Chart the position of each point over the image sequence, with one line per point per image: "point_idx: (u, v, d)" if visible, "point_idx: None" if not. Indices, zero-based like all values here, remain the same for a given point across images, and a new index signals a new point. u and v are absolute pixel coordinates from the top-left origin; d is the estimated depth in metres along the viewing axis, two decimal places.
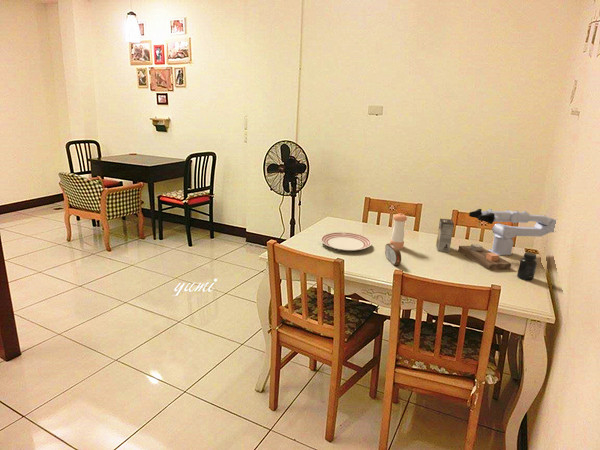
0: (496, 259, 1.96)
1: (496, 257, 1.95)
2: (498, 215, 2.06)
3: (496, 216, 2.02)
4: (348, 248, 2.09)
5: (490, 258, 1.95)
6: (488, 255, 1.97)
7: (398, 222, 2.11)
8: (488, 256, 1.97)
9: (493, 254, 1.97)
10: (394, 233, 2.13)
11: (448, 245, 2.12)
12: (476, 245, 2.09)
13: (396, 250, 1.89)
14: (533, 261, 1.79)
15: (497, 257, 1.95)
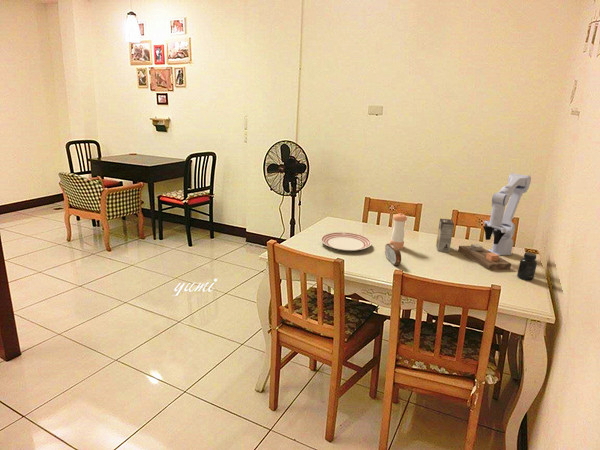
0: (496, 259, 1.96)
1: (496, 257, 1.95)
2: (497, 220, 1.97)
3: (499, 228, 1.95)
4: (348, 248, 2.09)
5: (490, 258, 1.95)
6: (488, 255, 1.97)
7: (398, 222, 2.11)
8: (488, 256, 1.97)
9: (493, 254, 1.97)
10: (394, 233, 2.13)
11: (448, 245, 2.12)
12: (476, 245, 2.09)
13: (396, 250, 1.89)
14: (533, 261, 1.79)
15: (497, 257, 1.95)
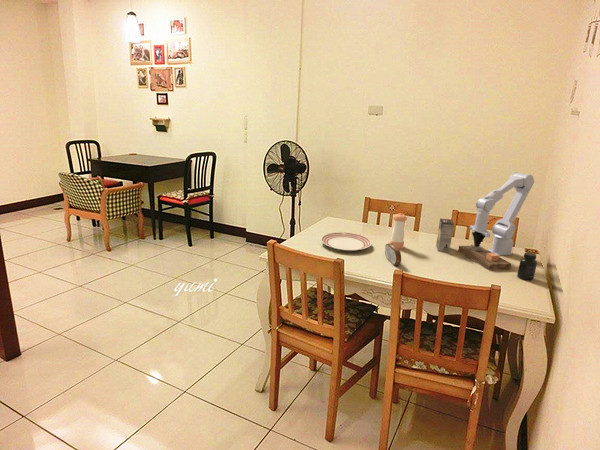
0: (496, 259, 1.96)
1: (496, 257, 1.95)
2: (482, 225, 2.03)
3: (484, 233, 2.01)
4: (348, 248, 2.09)
5: (490, 258, 1.95)
6: (488, 255, 1.97)
7: (398, 222, 2.11)
8: (488, 256, 1.97)
9: (493, 254, 1.97)
10: (394, 233, 2.13)
11: (448, 245, 2.12)
12: None
13: (396, 250, 1.89)
14: (533, 261, 1.79)
15: (497, 257, 1.95)
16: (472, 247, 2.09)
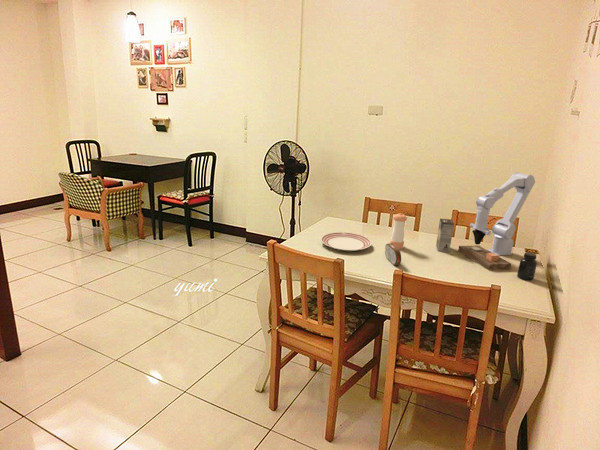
0: (496, 259, 1.96)
1: (496, 257, 1.95)
2: (482, 223, 2.02)
3: (484, 231, 2.01)
4: (348, 248, 2.09)
5: (490, 258, 1.95)
6: (488, 255, 1.97)
7: (398, 222, 2.11)
8: (488, 256, 1.97)
9: (493, 254, 1.97)
10: (394, 233, 2.13)
11: (448, 245, 2.12)
12: (475, 248, 2.09)
13: (396, 250, 1.89)
14: (533, 261, 1.79)
15: (497, 257, 1.95)
16: None
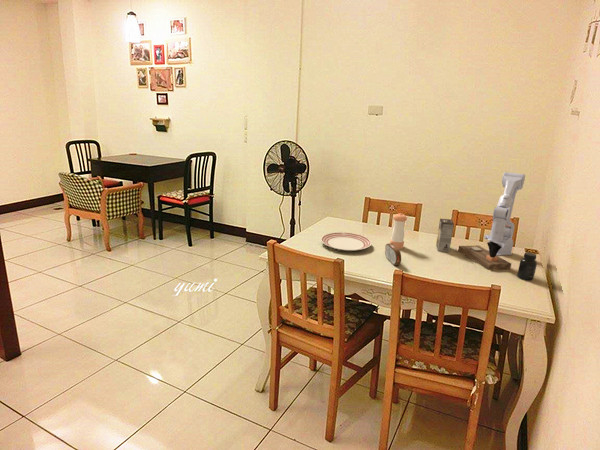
0: None
1: (495, 259, 1.96)
2: (498, 235, 1.91)
3: (500, 243, 1.89)
4: (348, 248, 2.09)
5: (490, 260, 1.95)
6: (488, 257, 1.97)
7: (398, 222, 2.11)
8: (488, 258, 1.97)
9: None
10: (394, 233, 2.13)
11: (448, 245, 2.12)
12: (475, 248, 2.09)
13: (396, 250, 1.89)
14: (533, 261, 1.79)
15: (496, 259, 1.96)
16: None
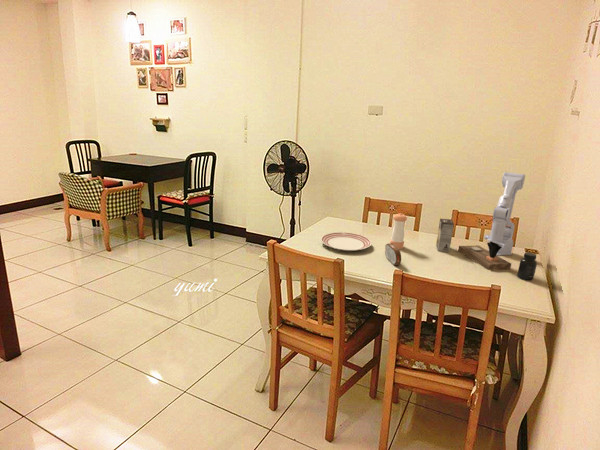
0: None
1: (495, 260, 1.96)
2: (498, 235, 1.91)
3: (500, 244, 1.89)
4: (348, 248, 2.09)
5: None
6: (487, 258, 1.97)
7: (398, 222, 2.11)
8: None
9: None
10: (394, 233, 2.13)
11: (448, 245, 2.12)
12: (475, 248, 2.09)
13: (396, 250, 1.89)
14: (533, 261, 1.79)
15: (496, 260, 1.96)
16: None
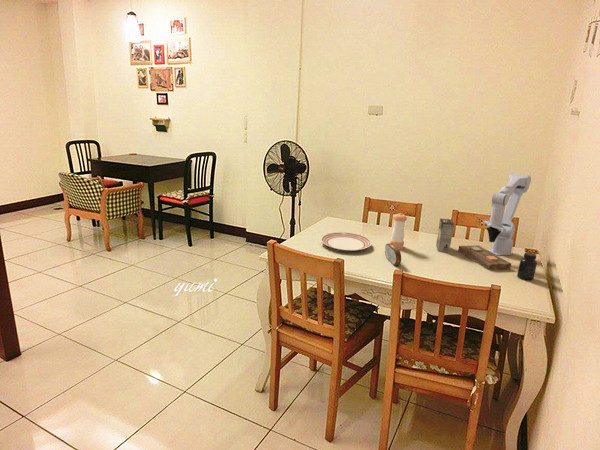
0: None
1: (495, 260, 1.96)
2: (497, 220, 1.97)
3: (499, 228, 1.95)
4: (348, 248, 2.09)
5: None
6: (487, 258, 1.97)
7: (398, 222, 2.11)
8: None
9: (492, 257, 1.97)
10: (394, 233, 2.13)
11: (448, 245, 2.12)
12: (475, 248, 2.09)
13: (396, 250, 1.89)
14: (533, 261, 1.79)
15: (496, 260, 1.96)
16: None
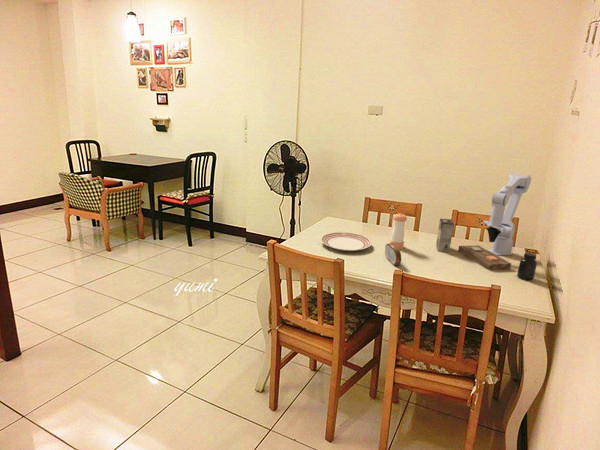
0: None
1: (495, 260, 1.96)
2: (497, 220, 1.97)
3: (499, 228, 1.95)
4: (348, 248, 2.09)
5: None
6: (487, 258, 1.97)
7: (398, 222, 2.11)
8: None
9: (492, 257, 1.97)
10: (394, 233, 2.13)
11: (448, 245, 2.12)
12: (475, 248, 2.09)
13: (396, 250, 1.89)
14: (533, 261, 1.79)
15: (496, 260, 1.96)
16: None
